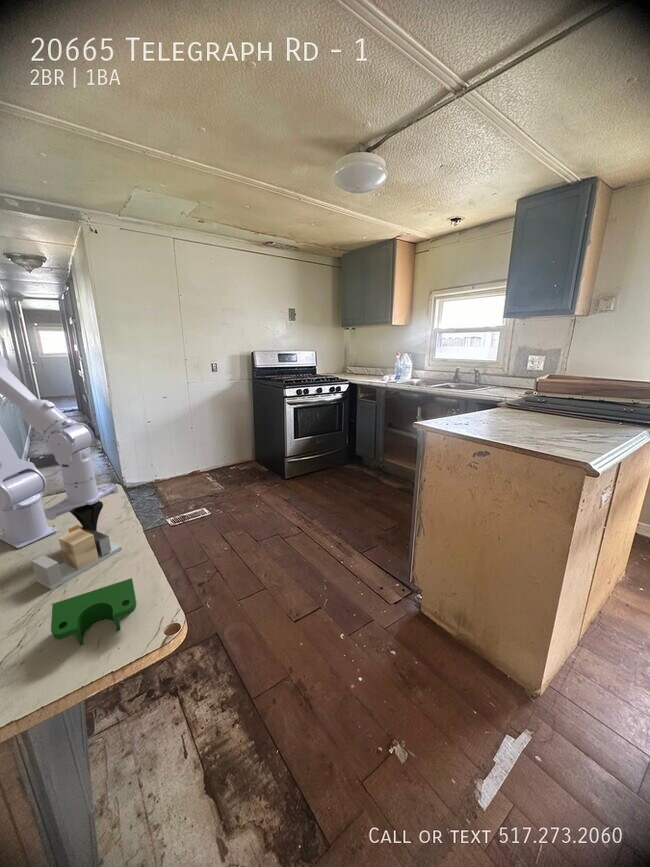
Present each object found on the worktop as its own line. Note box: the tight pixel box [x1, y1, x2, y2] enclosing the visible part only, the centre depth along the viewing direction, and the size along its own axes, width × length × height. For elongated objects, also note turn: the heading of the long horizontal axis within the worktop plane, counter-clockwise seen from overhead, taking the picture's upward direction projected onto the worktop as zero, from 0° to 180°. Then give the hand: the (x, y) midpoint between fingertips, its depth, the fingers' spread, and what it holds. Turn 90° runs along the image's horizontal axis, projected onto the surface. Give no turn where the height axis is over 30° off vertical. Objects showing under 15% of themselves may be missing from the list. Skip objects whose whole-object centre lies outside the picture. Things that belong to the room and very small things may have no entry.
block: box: [58, 529, 99, 570], centre depth 70 cm, size 5×4×6 cm
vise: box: [31, 541, 123, 590], centre depth 71 cm, size 5×14×5 cm, turn 154°
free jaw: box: [67, 524, 111, 556], centre depth 75 cm, size 12×2×4 cm, turn 64°
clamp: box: [50, 578, 137, 647], centre depth 56 cm, size 12×6×9 cm, turn 116°
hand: (91, 532), depth 79 cm, fingers closed
